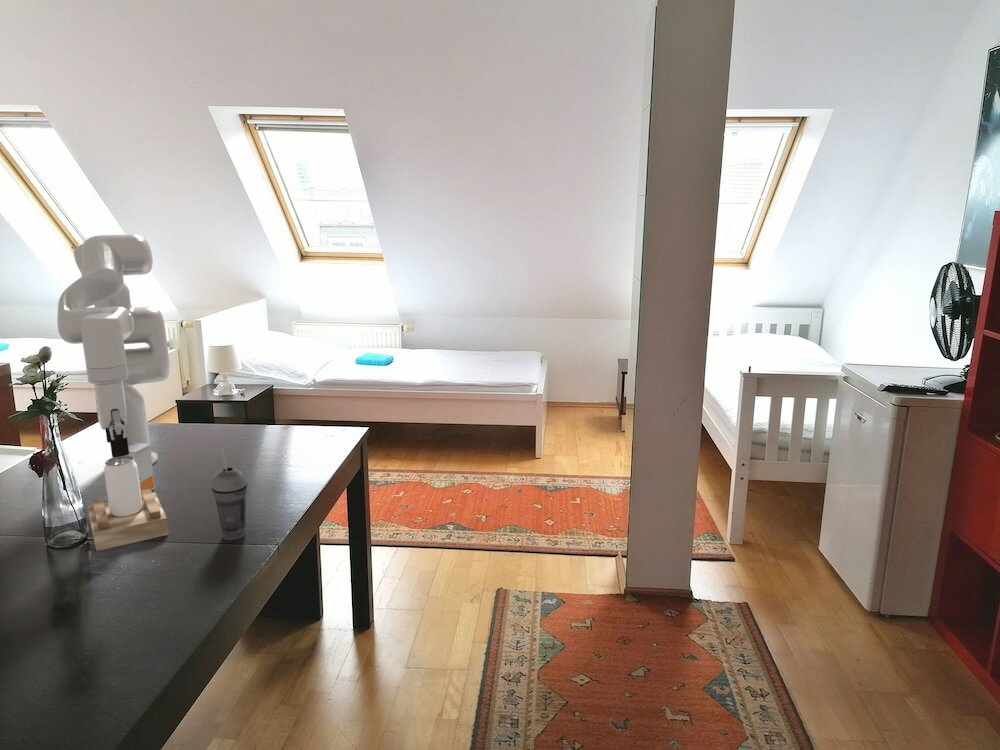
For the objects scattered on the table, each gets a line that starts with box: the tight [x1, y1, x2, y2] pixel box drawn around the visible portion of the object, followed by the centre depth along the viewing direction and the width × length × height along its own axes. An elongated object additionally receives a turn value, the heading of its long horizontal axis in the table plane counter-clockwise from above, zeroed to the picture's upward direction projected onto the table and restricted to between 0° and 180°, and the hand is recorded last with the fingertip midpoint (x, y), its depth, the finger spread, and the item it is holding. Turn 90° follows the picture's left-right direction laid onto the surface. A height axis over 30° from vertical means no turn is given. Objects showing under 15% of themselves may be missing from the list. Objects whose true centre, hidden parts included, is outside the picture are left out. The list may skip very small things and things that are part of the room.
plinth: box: [87, 489, 169, 552], centre depth 162 cm, size 16×14×6 cm
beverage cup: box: [211, 447, 248, 541], centre depth 157 cm, size 7×7×20 cm
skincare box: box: [126, 443, 156, 491], centre depth 180 cm, size 6×4×12 cm
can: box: [103, 456, 142, 517], centre depth 160 cm, size 6×6×12 cm
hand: (118, 448), depth 159 cm, fingers open, 9 cm apart
